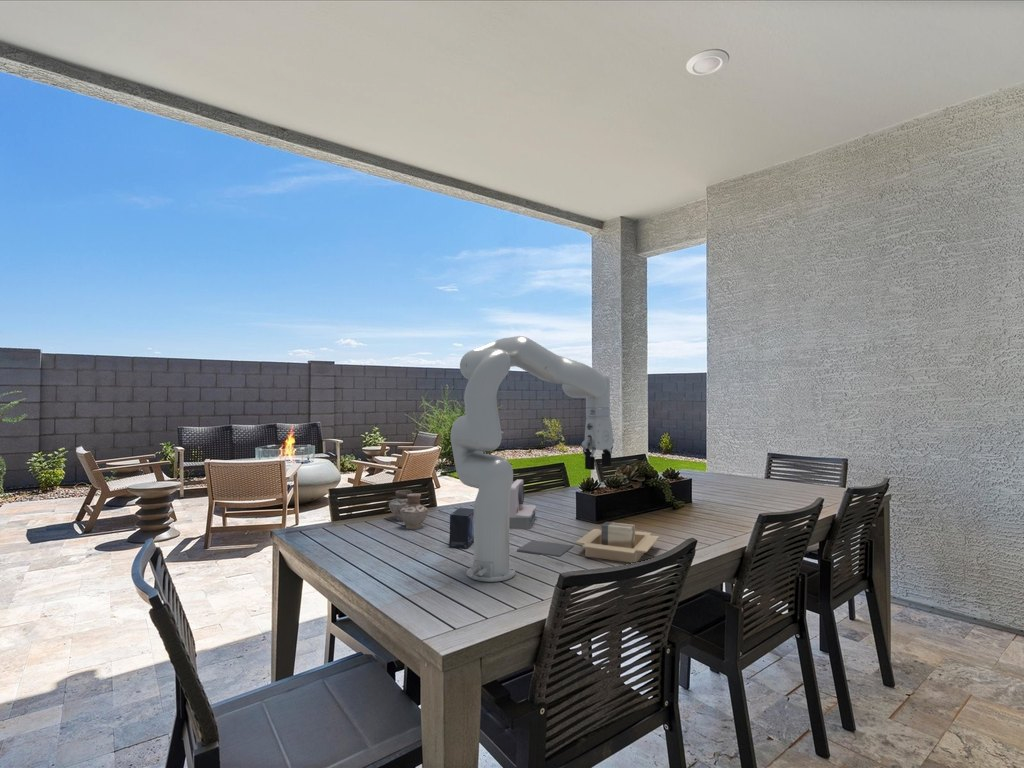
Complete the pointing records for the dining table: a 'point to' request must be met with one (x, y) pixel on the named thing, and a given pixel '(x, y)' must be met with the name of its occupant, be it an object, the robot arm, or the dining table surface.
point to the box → (618, 534)
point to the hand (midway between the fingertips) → (598, 467)
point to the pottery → (408, 509)
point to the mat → (545, 548)
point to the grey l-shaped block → (520, 508)
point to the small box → (461, 528)
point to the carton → (598, 550)
